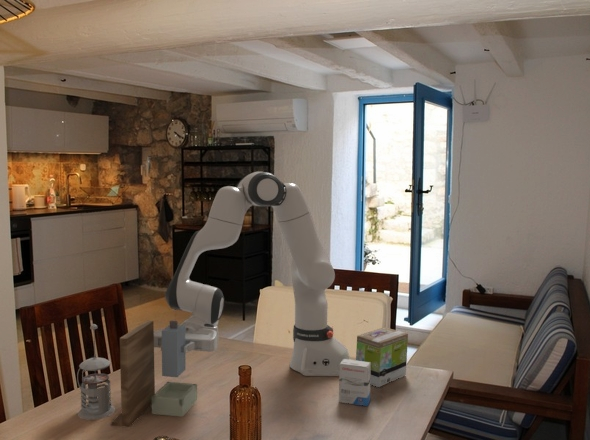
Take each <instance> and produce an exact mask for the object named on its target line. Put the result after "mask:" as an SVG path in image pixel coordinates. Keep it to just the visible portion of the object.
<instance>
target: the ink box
mask: <svg viewBox="0 0 590 440" xmlns="http://www.w3.org/2000/svg"><path fill="white" fill-rule="evenodd" d="M349 359H350V358H349ZM349 359H343V360H342V361H341V363H340V364H339V376H338V403H341V402H342V404H348V403H349V404H348V405H355V404H356V405H357V406H362V405H363V406H364V407H367V406H368V405H369V404H370V401H371V385H370V376H371V362H364V361H356V359H355V360H354V359H352V360H349ZM356 405H355V406H356Z"/></svg>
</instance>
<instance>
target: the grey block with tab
mask: <svg viewBox="0 0 590 440" xmlns="http://www.w3.org/2000/svg"><path fill="white" fill-rule="evenodd" d="M162 329H163V330H162V351H161V376H162V377H166V378H167V377H169V378H179V377H180V376H181V375H182V374H183V373H184V372H185V371H186V353H182V352H181V346H182V345H185V326H184V325H180V324H178V321H177V320H169V325H168V326H166V327H165V328H162Z"/></svg>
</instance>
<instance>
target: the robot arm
mask: <svg viewBox="0 0 590 440" xmlns="http://www.w3.org/2000/svg"><path fill="white" fill-rule="evenodd" d="M254 206H255V207H271V208H272V209H273V211H274V212H275V215H276V218H277V222H278V225H279V228H280V231H281V233H282V237H283V241H284V243H285V244H286V247H287V249H288V250H289V254H290V256H291V257H292V258H291V260H290V269H291V280H292V288H293V290H292V291H293V295H294V324H293V329H292V339H293V347H292V348H293V350H292V356H291V359H290V363H289V367H290V368H291V369H292V370H294V371H295V372H298V373H300V374H301V375H303V376H304V377H308V376H309V377H339V364H340V363H341V361H342V360H343V359H349V360H353V358H352V359H351V358H350V355H349V350H348V347H346V346H345V345H344V344H343V343H342V342H341V341H340V340H338V339H337V338H336V337H334V327H333V326H330V325H329V324H328V308H329V307H328V299H327V297H326V291H325V290H327V289H328V288H330V287H331V286H332V285H333V283H334V282H335V278H336V274H335V273H336V272H335V270H334V268H333V267H334V266H333V265H332V262H331V261H330V259H329V255H328V254H327V251H326V249H325V247H324V245H323V243H322V240H321V239H320V236H319V234H318V231H317V228H316V226H315V223H314V219H313V217H312V213H311V211H310V208H309V203H308V202H307V199H306V197H305V195H304V193H303V191H302V190H301V188H300V186H299V185H298V184H296V183H293V182H285V183H283V182H282V181H281V180H280V179H279V178H278V176H275V175H274V174H273V173H271V172H267V171H254V172H250V173H248V174H245V175H244V176H243V177H242V178H240V180H239V181H238V182H237V183H236V184H235V185H234V186H231V185H227V186H223V187H221V188H219V190H217V192H216V194H215V197H214V200H213V202H212V205H211V206H210V211H209V214H208V217H207V220H206V222H205V224H204V226H203V227H202V228H201V229H200V230H196V231H195V232H194V233H193V235H192V236H191V237H190V240H189V242H188V243H187V246H186V248H185V250H184V252H183V254H182V256H181V258H180V261H179V263H178V266H177V269H176V270H175V273H174V275H173V276H172V278H171V280H170V283H169V284H168V286H167V288H166V290H165V295H164V299H165V301H166V303H167V305H168V306H169V307H170V308H171V309H173V310H176V311H177V310H178V311H184V312H188V313H191V314H192V315H191V316H190V317H188V318H187V319H185V320H184V321H183V322H182V323H180V324H179V325H184V326H185V345H182V346H181V352H182V353H185V354H186V353H188V352H191V351H197V352H208V353H209V352H214V351H216V350H217V349H218V346H219V327H218V325H219V320H220V319H221V318H222V315H223V312H224V309H225V304H226V302H225V301H226V300H225V297H224V294H223V291H222V290H221V289H220V288H219V287H216V286H211V285H209V284H203V283H201V282H197V281H193V280H191V279H190V276H191V274H192V271H193V269H194V267H195V264H196V262H197V260H198V258H199V256H200V255H201V254H202V253H204V252H206V251H211V250H219V249H226V248H228V247H230V246H233V245H234V244H235V243H237V241H238V240H239V237H240V234H241V232H242V228H243V225H244V224H243V223H244V220H245V216H246V213H247V211H248V210H249V209H250V207H254ZM163 329H164V328H160V329H157V330H154V348H157V349H158V348H159V349H160V351H161V352H162V330H163Z"/></svg>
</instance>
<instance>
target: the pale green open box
mask: <svg viewBox="0 0 590 440" xmlns="http://www.w3.org/2000/svg"><path fill="white" fill-rule="evenodd" d="M197 387H198V385H197V383H188V382H187V383H186V382H174V381H167V382H165V384H164V385H162V386H161V388H159V389H158V391H155V394H154V395H153V396H152V405H151V414H152V415H160V416H161V415H162V416H170V417H179V418H180V417H184V416H185V415H186V414H187V412H188V411H189V410H190V409H191V408H192V407H193V405H195V403H196V401H197V400H198V391H197V390H198V388H197Z"/></svg>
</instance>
